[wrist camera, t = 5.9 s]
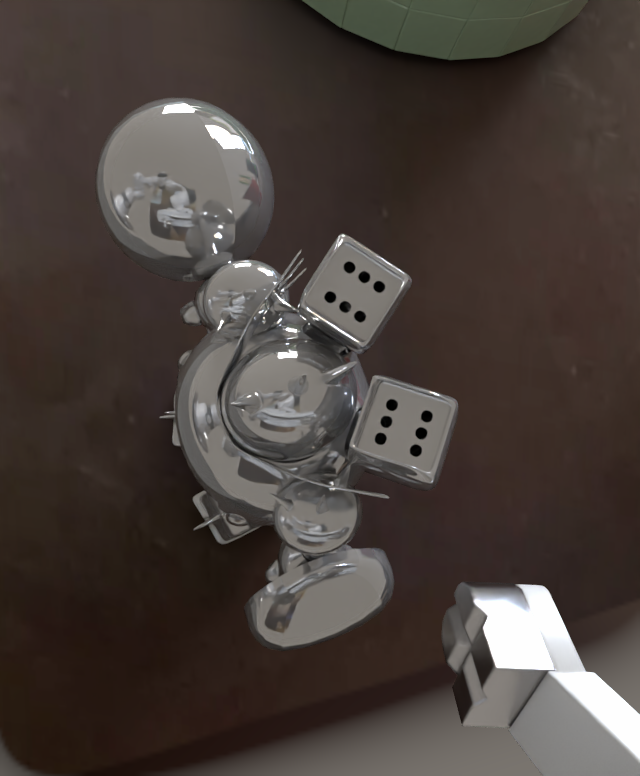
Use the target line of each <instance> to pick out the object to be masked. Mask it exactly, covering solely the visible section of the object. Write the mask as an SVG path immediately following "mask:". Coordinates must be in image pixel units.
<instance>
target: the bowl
mask: <svg viewBox="0 0 640 776" xmlns="http://www.w3.org/2000/svg"><path fill="white" fill-rule="evenodd" d="M302 1H303V2H305V3H306V4H307V5H309V6H310V7H312V8H313V9H314V10H316V11H317V12H319V13H320V14H321V15H323V16H324V17H326V18H327V19H328V20H330V21H331V22H333V23H334V24H336V25H337V26H338V27H340V28H341V27H342V28H343V29H345V30H347V31H349V32H352V33H354V34H356V35H359V36H361V37H364V38H366V39H368V40H371V41H373V42H375V43H378V44H380V45H382V46H385V47H387V48H390V49H392V50H393V49H394V50H395V51H401V52H406V53H412V54H417V55H423V56H429V57H434V58H440V59H445V60H446V59H448V60H460V59H476V58H491V57H500V56H503V55H506V54H509V53H511V52H514V51H517V50H520V49H523V48H526V47H529V46H531V45H534V44H537V43H540V42H542V41H544V40H546V39H547V38H548V37H550V36H551V35H552V34H554V33H555V32H556V31H558V30H559V29H560V28H562V27H563V26H564V25H566V24H567V23H568V22H570V21H571V20H572V19H574V18H575V17H576V16H577V15H578V14H579V13H580V12H581V10H582V9H583V7H584V6H585V5H586V3H587V2H588V1H589V0H302Z"/></svg>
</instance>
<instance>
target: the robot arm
mask: <svg viewBox="0 0 640 776" xmlns="http://www.w3.org/2000/svg"><path fill="white" fill-rule="evenodd" d="M454 595H455V598H456V602H457V604H455V605H453V606H452V607H450V608H449V609H447V612H446V614H445V617H444V619H443V624H442V645H443V651H444V656H445V660H446V663H447V664H448V665H449V666H450V667H451V668H452V669H453V671H454V672H455V673H456V674H457V678H456V680H455V682H454V685H453V687H452V688H453V692H454V696H455V700H456V704H457V707H458V711H459V715H460V719H461V723H462V726H473V727H475V726H476V727H497V728H510V729H509V732H510V733H511V735H512V736H513V737H514V739H515V740H516V741H517V743H518V744H519V745H520V747H521V748H522V749H523V750H524V752H525V753H526V754H527V756H528V757H529V758H530V760H531V761H532V762H533V763H534V765H535V766H536V767H537V769H538V770H539V771H540V773H541V774H542V775H543V776H640V714H639V713H637V712H636V711H635V710H634V709H633V708H632V707H631V706H630V705H629V704H628V703H626V701H624V700H623V699H622V698H621V697H620V696H619V695H618V694H617V693H616V692H615V691H614V690H612V689H611V688H610V687H609V686H608V685H607V684H606V683H605V682H604V681H603V680H602V679H600V678H599V677H598V676H597V675H596V674H595V673H593V672H586V671H585V668H584V667H583V664H582V662H581V660H580V658H579V655H578V654H577V651H576V649H575V647H574V645H573V642H572V640H571V638H570V636H569V634H568V632H567V629H566V627H565V625H564V623H563V621H562V619H561V616H560V614H559V612H558V610H557V608H556V606H555V603H554V601H553V599H552V597H551V595H550V593H549V591H548V590H547V589H546V588H545V587H544V586H540V585H519V584H516V585H515V584H513V583H487V582H462V583H461V584H459V585H458V587H457V589H456V591H455V594H454Z"/></svg>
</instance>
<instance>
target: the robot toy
mask: <svg viewBox="0 0 640 776" xmlns="http://www.w3.org/2000/svg"><path fill="white" fill-rule="evenodd" d="M95 194H96V202H97V206H98V209H99V213H100V216H101V219H102V221H103V223H104V225H105V228H106V230H107V232H108V233H109V235H110V236H111V238H112V239H113V241H114V242H115V244H116V245H117V246H118V247H119V248H120V249H121V251H122V252H123V253H124V254H125V255H126V256H127V257H129V258H130V259H131V260H132V261H133V262H134V263H136V264H137V265H139V266H140V267H142V268H143V269H145V270H147V271H148V272H150V273H153V274H155V275H157V276H160V277H162V278H166V279H170V280H174V281H181V282H195V281H201V280H205V281H204V282H203V284H202V285H201V286H200V287H199V288H198V289H197V291H196V292H195V297H194V301H190V302H188V304H187V305H184V306H183V308H181V309H180V314H181V317H182V321H183V323H184V324H187V325H189V326H199V325H203V326H205V327H206V331H207V335H206V336H205V337H204V338H203V339H202V340H201V341H200V342H199V343H198V344H197V345H196V346H195V347H194V348H193V350H188V351H186V352H184V353H183V354H182V355H181V356H180V358H179V360H178V368H179V370H180V371H179V373H178V376H177V379H178V381H177V387H176V393H175V396H174V411H168V412H165V414H168V415H166V416H161V417H159V418H160V419H173V436H172V442H173V445H174V446H181V449H182V452H183V455H184V457H185V460H186V462H187V464H188V466H189V468H190V470H191V472H192V474H193V475H194V477H195V479H196V480H197V481H198V483H199V484H200V485H201V487H202V488H203V489H204V491H202V492H200V493H198V494H196V495H195V496H194V497H193V503H194V505H195V506H196V508H197V509H198V511H199V512H200V514H201V515H202V517H203V519H204V520H205V521H204V522H202V523H201V524H199V525H198V526H197V527H195V528H194V529H193V530H197V529H200V528H202V527H205V526H207V525H208V527H209V528H210V530H211V532H212V533H213V535H214V537H215V539H216V540H217V541H218V542H219V543H220V544H227V543H230V542H232V541H234V540H236V539H238V538H240V537H242V536H244V535H246V534H248V533H250V532H252V531H254V530H256V529H258V528H260V527H261V526H264V525H265V526H274V529H275V532H276V534H277V535H278V537H279V538H280V540H281V541H282V544H281V547H280V550H279V553H278V561H277V560H275V561H274V562H273V563H272V564H271V565H270V566H269V567H268V568H267V570H266V572H265V579H266V582H267V584H268V585H266V586H265V587H264V588H262V589H261V590H259V591H258V592H257V593H256V594H254V595H253V596H252V597H251V598H250V599H249V601H248V602H247V603H246V605H245V607H244V612H245V615H246V619H247V622H248V625H249V629H250V631H251V633H252V635H253V636H254V638H255V640H257V641H258V642H259V643H260V644H262V645H263V646H264V647H266V648H269V649H274V650H279V651H287V650H293V649H300V648H306V647H309V646H313V645H316V644H319V643H322V642H325V641H328V640H331V639H334V638H336V637H338V636H340V635H342V634H345V633H347V632H349V631H351V630H353V629H355V628H357V627H359V626H361V625H363V624H364V623H366V622H367V621H369V620H370V619H372V618H373V617H374V616H376V615H377V614H379V613H380V612H382V611H383V609H384V608H385V606H386V605H387V603H388V602H389V601H390V599H391V597H392V593H393V588H394V583H395V582H394V577H393V572H392V568H391V565H390V563H389V561H388V558H387V556H386V554H385V552H384V551H383V550H381V549H378V548H361V549H353V548H351V547H350V546H348V545H346V544H347V543H348V542H349V541H350V540H351V539H352V538H353V537H354V535H355V534H356V532H357V531H358V529H359V526H360V524H361V521H362V515H363V507H362V501H361V498H360V496H359V494H358V493H360V494H365V495H370V496H376V497H382V498H389V497H388V496H386V495H384V494H380V493H375V492H369V491H363V490H357V489H355V486H356V485H357V483H358V482H359V480H360V479H361V477H362V475H363V474H364V472H366V473H369V474H372V475H375V476H378V477H381V478H383V479H386V480H389V481H392V482H395V483H398V484H401V485H404V486H406V487H409V488H412V489H416V490H421V491H428V490H432V489H433V488H435V487H436V485H437V483H438V481H439V478H440V474H441V471H442V468H443V465H444V461H445V458H446V455H447V452H448V448H449V445H450V442H451V439H452V435H453V432H454V429H455V426H456V422H457V418H458V402H457V401H456V400H455V399H454V398H452V397H450V396H447V395H444V394H441V393H438V392H434V391H431V390H428V389H425V388H422V387H419V386H416V385H412V384H409V383H406V382H403V381H400V380H397V379H394V378H390V377H387V376H383V375H379V376H378V375H375V376H373V378H372V381H371V384H370V387H369V383H368V381H367V378H366V376H365V374H364V371H363V369H362V367H361V364H360V362H359V359H358V356H357V354H356V353H358V354H363V353H365V352H366V351H367V350H368V349H369V348H370V347H371V346H372V345H373V344H374V343H375V341H376V340H377V338H378V337H379V335H380V333H381V332H382V330H383V329H384V327H385V326H386V324H387V323H388V321H389V319H390V318H391V316H392V315H393V313H394V312H395V310H396V309H397V307H398V305H399V304H400V302H401V301H402V299H403V298H404V296H405V295H406V293H407V291H408V290H409V288H410V286H411V283H412V280H411V278H410V276H409V275H408V274H407V273H405V272H404V271H402V270H401V269H399V268H398V267H396V266H395V265H393V264H392V263H390V262H389V261H387V260H385V259H384V258H382V257H381V256H379V255H378V254H376V253H375V252H373V251H372V250H370V249H369V248H367V247H366V246H364V245H362V244H361V243H359V242H358V241H356V240H355V239H353V238H352V237H350V236H348V235H346V234H340V235H339V236H338V237H337V239H336V240H335V242H334V243H333V245H332V246H331V248H330V250H329V251H328V253H327V254H326V256H325V257H324V259H323V261H322V262H321V264H320V265H319V267H318V268H317V270H316V271H315V273H314V275H313V276H312V278H311V279H310V281H309V282H308V284H307V286H306V288H305V290H304V292H303V294H302V296H301V299H300V302H299V304H298V307H297V309H296V308H294V307H293V306H292V305H290V304H289V291H288V288H289V287H290V286H291V285H292V284H293V283H294V282H295V281H296V280H297V279H298V278H299V277H300V276H301V275H302V274H303V273H304V272H305V270H306V269H307V268H306V269H304V270H303V271H302V272H301V273H300V274H299V275H298V276H297V277H296V278H295V279H294V280H293V281H291V282H290V283H289V284H288V285H286V283H287V282H288V280H289V279H290V278H291V276H292V275H293V274H294V272H295V271H296V270H297V268H298V267H299V266H300V264H301V263H302V261H303V260H304V258H303V259H302V260H301V261H300V262H299V263H298V264H297V266H296V267H295V268H294V269H293V271H292V272H291V273H290V274H289V276H288V277H287V278H286V279H285V280H284V278H285V276H286V275H287V273H288V272H289V270H290V269H291V267H292V265H293V264H294V262H295V261H296V259H297V258H298V256H299V254H300V253H301V250H302V249H301V250H300V251H299V252H298V254H297V255H296V256H295V258H294V259H293V261H292V262H291V263H290V265H289V266H288V268H287V269H286V271H285V272H284V274H283V275H282V276H281V275H280V274H279V272H277V271H276V270H275V269H274V268H273V267H271V266H269V265H268V264H265V263H263V262H260V261H255V260H248V259H249V258H250V257H251V256H252V255H253V254H254V252H255V251H256V250H257V249H258V247H259V246H260V244H261V242H262V241H263V239H264V238H265V235H266V233H267V230H268V228H269V225H270V222H271V218H272V214H273V206H274V185H273V179H272V174H271V170H270V166H269V164H268V161H267V159H266V156H265V154H264V152H263V150H262V148H261V147H260V145H259V143H258V141H257V140H256V139H255V138H254V136H253V135H252V134H251V132H250V131H249V130H248V129H247V128H246V127H245V126H244V125H243V124H242V123H241V122H240V121H239V120H237V119H236V118H234V117H233V116H231V115H230V114H229V113H227V112H226V111H224V110H222V109H221V108H218V107H216V106H214V105H212V104H210V103H208V102H204V101H200V100H197V99H191V98H177V97H176V98H165V99H159V100H156V101H152V102H149V103H147V104H144V105H142V106H140V107H138V108H136V109H135V110H133V111H132V112H130V113H129V114H127V115H126V116H125V117H124V118H123V119H122V120H121V121H120V122H119V123H118V124H117V125H116V126H115V127H114V128H113V129H112V131H111V133H110V134H109V136H108V137H107V139H106V141H105V143H104V146H103V148H102V151H101V153H100V156H99V159H98V163H97V168H96V173H95ZM290 312H297V313H298V314H294V313H290Z"/></svg>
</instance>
